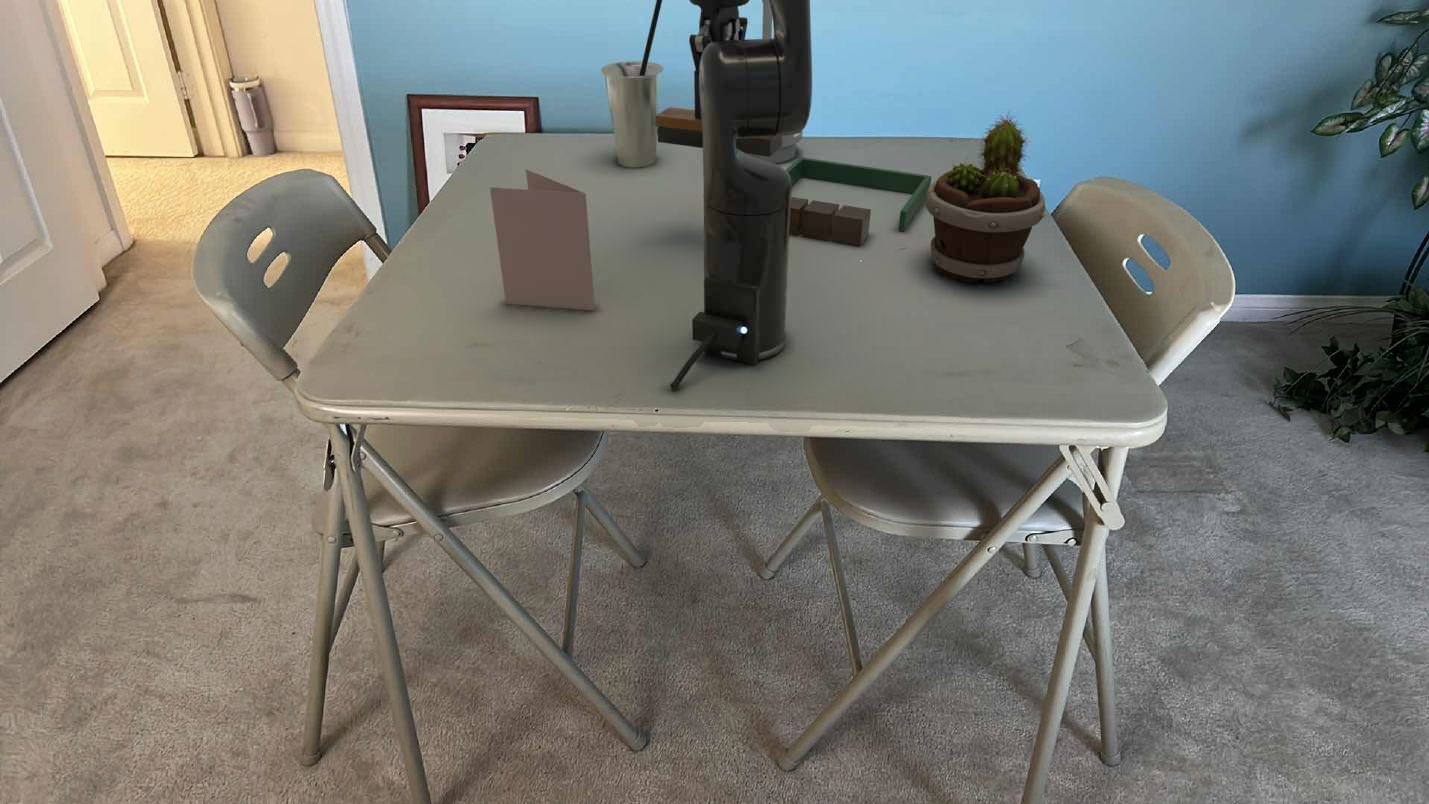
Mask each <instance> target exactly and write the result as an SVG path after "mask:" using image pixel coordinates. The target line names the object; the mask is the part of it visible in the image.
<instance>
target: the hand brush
mask: <svg viewBox="0 0 1429 804" xmlns="http://www.w3.org/2000/svg"><path fill="white" fill-rule="evenodd" d="M693 76H694V77H693V83H694V85H693V87H694V88H693V90H694V109H691V108H690V109H689V108H682V107H672V106H669V107H667V108H665V109H664V110H662V111H660V112H659V113H658V114H657V115H656V127H657V142H658V143H662V144H668V145H669V144H670V145H677V146H683V147H684V146H686V147H693V148H700V149H703V137H702V120H701V106H700V88H699V78H698V77H697V73H696V69H695V70H694V71H693ZM781 146H782V136H771V137H755V138H739V139H737V141H736V147H737V148H738V149H739V150H741V151H742V152H744V153H746V154H753V155H760V156H768V157H770V156H771V155H772V154H773V153H774V152H776V151H777V150H778V149H779V148H780V147H781Z"/></svg>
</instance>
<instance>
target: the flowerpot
mask: <svg viewBox="0 0 1429 804" xmlns="http://www.w3.org/2000/svg"><path fill="white" fill-rule="evenodd" d="M1009 114H1010V109H1009V110H1008V112H1007V114H1006V118H1004V117H1003V116H1002V115H998V116H999V117H997V119H999V120H996V121H995V124H989V126H990V127H986V129H987V130H988V131H984V133H981V134H982V135H980V137H981V138H980V137H979V136H977V137H978V139H980V144H979V145H980V147H981V148H978V151H980V153H977V156H978V155H979V156H978V159H981V158H982V159H981V161H979V164H980V165H978V167H977V166H974V165H973V163H974V161H975V160H973V161H972V162H971V163H969V162H968V156H966V157H964V161H963V162H960V163H959V165H955V164H954V162H955V160H953V161H952V165H951V170H949V171H947V172H945V173H943V174H942V175H941V176H940V177H939V178H937V180H935V181H934V182H931V184H930V186H929V188H928V191H927V195H926V200H925V207H926V210H927V212H928V213H929V214H930V215H931V216H932V218H933V226H934V236H933V237H932V239H931V240H930V254H931V259H932V261H933V262H934V263H935V265H936V268H937V270H938V271H939V272H940V273H941V274H943V275H944V276H946V277H947V278H949V279H953V280H960V281H962V282H964V283H975V282H979V281H981V280H982V281H983V282H984V283H985V284H994V283H996V282H1003V281H1005V280H1007V279H1008V278H1009V277H1011V276H1012V275H1013V274H1014V273H1015V272H1017V271H1018V269H1020V268H1021V267H1022V265H1023V264H1022V263H1023V261H1024V258H1025V255H1026V254H1025V249H1024V247H1025V245H1026V243H1027V240H1028V239H1029V236H1030V234H1031V231H1032V229H1033V227H1034V226H1036V225H1038V224H1039V223H1040V222H1041V221H1042V219H1043V218H1045V210H1046V199H1045V196H1044V195H1043V193H1042V192H1041V188H1040V187H1039V184H1038V183H1037V181H1035V179H1031V178H1026V177H1024V176H1023V175H1022V174H1021V173H1024V174H1025V172H1024V171H1022V170H1023V167H1025V164H1023V161H1026V158H1029V156H1028V155H1026V154H1025V153H1026V148H1025V146H1026V147H1028V148H1029V145H1028V143H1027V142H1029V143H1031V141H1030V140H1028V136H1026V138H1025V139H1024V137H1023V136H1025V135H1027V133H1026V132H1023V131H1025V129H1023V128H1024V127H1020V126H1021V123H1018V121H1019V119H1017V120H1015V121H1013V120H1012V119H1014V118H1015V117H1017V116H1018V115H1014V116H1012V114H1011V115H1009ZM991 126H993V127H991ZM1018 126H1019V127H1018ZM985 134H986V135H985ZM981 140H982V141H981ZM1025 157H1026V158H1025Z"/></svg>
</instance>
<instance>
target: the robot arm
mask: <svg viewBox="0 0 1429 804" xmlns="http://www.w3.org/2000/svg"><path fill="white" fill-rule="evenodd" d="M689 2H690V3H691V4H692V5H694V6H698V7H699V8H700V15H699V22H698V25H699V26H698V33H697V34H692V33H691V34H690V36H689V39H688V42H689V47H690V51H691V55H692V61H693V64H694V69H695V70H696V73H697V77H698V78H699V88H700V106H701V120H702V137H703V148H702V170H703V171H702V173H703V175H702V176H703V311H698V313H697V314H696V315H695V316H694V317H693V318H692V319H691V320H692V321H691V322H692V325H691V329H692V330H691V333H692V341H697V342H701V344H700V345H699V346H698V347H697V349H695V351H694V352H693V353H692V354H691V356H690V357H689V358H688V359H687V361H686V362H685V364H684V365H683V366H682V367H681V369H680V371H679V372H678V374H677V375H676V377H675V378H674V379H673V381H672V382H671V383H670V384H669V386H670V388H671V390H676V389H677V388H678V387H679V386H680V384H681V383H682V381H683V380H684V378H685V377H686V375H687V374H688V372H689V371H690V369H691V368H692V367H693V365H694V364H695V362H696V361H698V359H699V358H700V356H701V355H702V354H703V353H704V354H705V355H709V356H712V357H717V358H722V359H727V360H731V361H735V362H739V363H744V364H749V365H756V364H757V363H758V362H759V361H762V360H764V359H768V358H771V357H773V356H775V355H777V354H778V353H780V352H781V351H782V350H783V349H784V347H785V345H786V338H787V337H786V336H787V333H786V320H787V319H786V318H787V294H788V293H787V292H788V290H787V289H788V271H789V249H790V234H789V228H790V210H791V197H792V191H793V190H792V188H793V186H792V182H791V178H790V175H789V174H788V172H787V171H786V169H785V168H784V167H782V166H780V165H778V163H772V162H769V161H766V160H762V159H759V158H756V157H753V156H750V155H748V154H746V153H744V152H742V151H741V150H739V149H738V148H737V147H736V141H737V139H739V138H755V137H771V136H786V135H793V134H798V133H799V132H801V131H802V130H804V129H805V128H806V126H807V124H808V121H809V118H810V115H811V109H812V101H813V50H812V49H813V48H812V21H811V18H812V17H811V0H769V3H770V7H771V12H772V28H773V38H770V39H762V38H751V39H749V38H748V39H746V34H747V29H748V23H749V21H748V17H742V16H740V10H739V7H742V6H745V5H747V4H748V3H749V2H750V0H689Z"/></svg>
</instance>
